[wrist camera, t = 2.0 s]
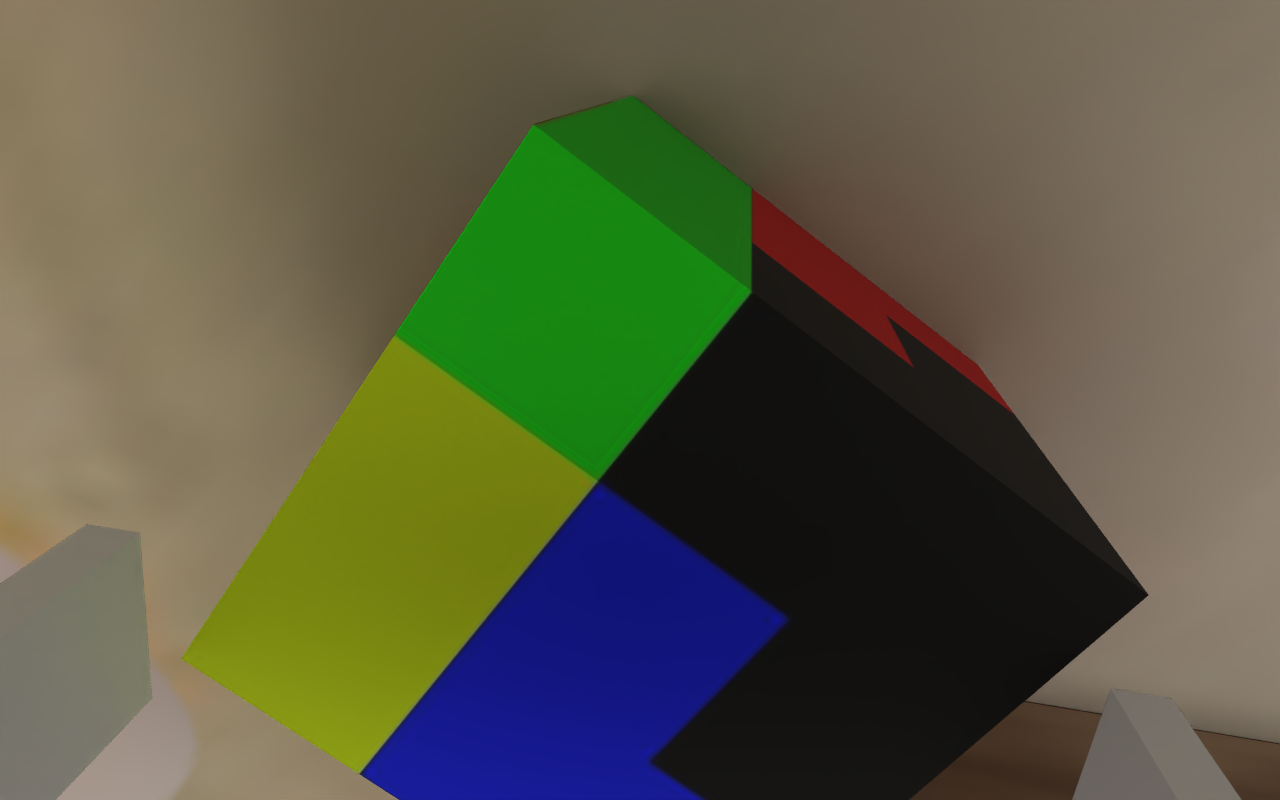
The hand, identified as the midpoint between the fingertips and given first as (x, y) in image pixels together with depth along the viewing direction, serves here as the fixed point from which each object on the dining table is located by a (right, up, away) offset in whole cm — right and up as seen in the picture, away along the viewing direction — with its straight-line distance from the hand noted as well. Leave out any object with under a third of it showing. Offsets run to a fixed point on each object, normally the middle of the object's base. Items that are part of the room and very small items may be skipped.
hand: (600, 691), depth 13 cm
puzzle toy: (+1, +4, +10) cm, 11 cm away
